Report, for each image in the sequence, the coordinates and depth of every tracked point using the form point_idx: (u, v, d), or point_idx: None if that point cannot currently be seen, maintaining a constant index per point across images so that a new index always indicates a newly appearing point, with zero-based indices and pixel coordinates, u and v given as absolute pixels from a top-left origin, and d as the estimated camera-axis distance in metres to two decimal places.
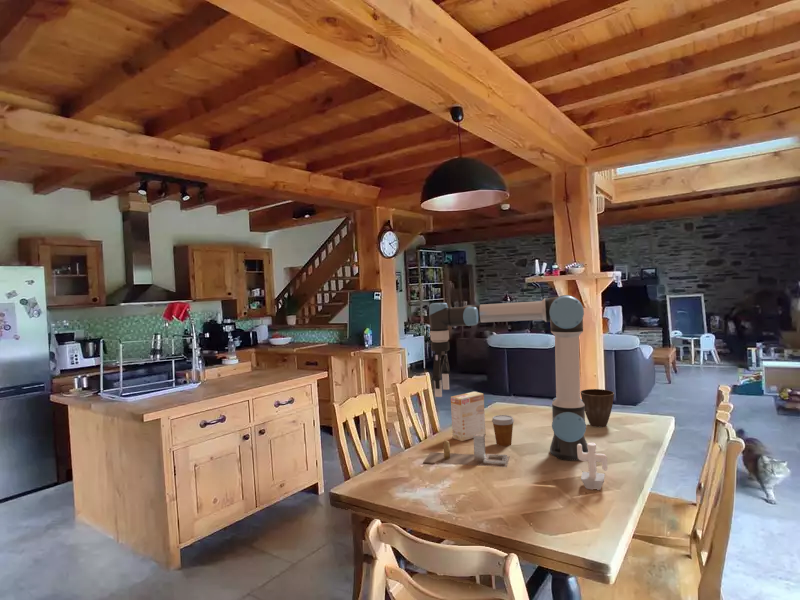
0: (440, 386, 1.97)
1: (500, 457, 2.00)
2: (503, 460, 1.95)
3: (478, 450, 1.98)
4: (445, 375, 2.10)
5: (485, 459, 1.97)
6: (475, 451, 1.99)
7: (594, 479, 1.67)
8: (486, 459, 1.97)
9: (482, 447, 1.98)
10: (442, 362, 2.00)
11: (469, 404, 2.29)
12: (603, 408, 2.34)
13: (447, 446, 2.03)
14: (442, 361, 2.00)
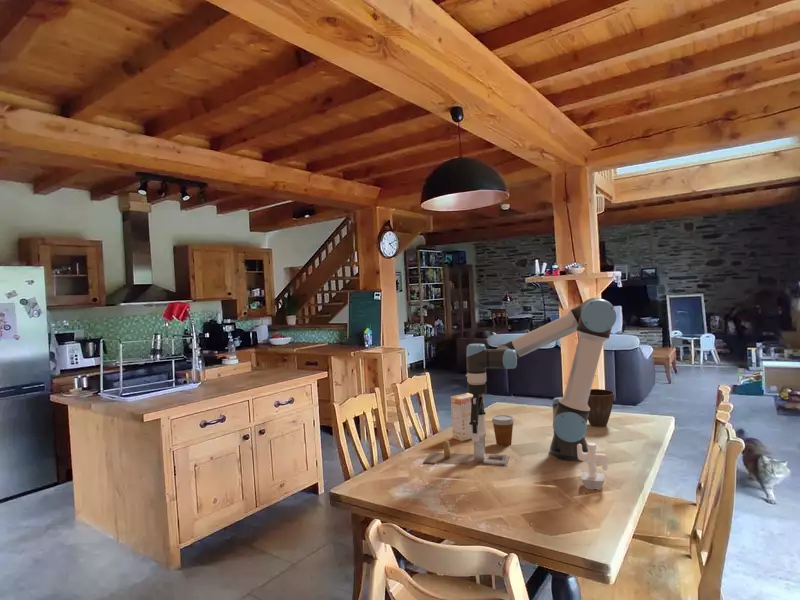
0: (477, 430, 1.92)
1: (500, 457, 2.00)
2: (503, 460, 1.95)
3: (478, 450, 1.98)
4: (480, 416, 2.06)
5: (485, 459, 1.97)
6: (475, 451, 1.99)
7: (594, 479, 1.67)
8: (486, 459, 1.97)
9: (482, 447, 1.98)
10: (479, 405, 1.95)
11: (469, 404, 2.29)
12: (603, 408, 2.34)
13: (447, 446, 2.03)
14: (479, 404, 1.96)
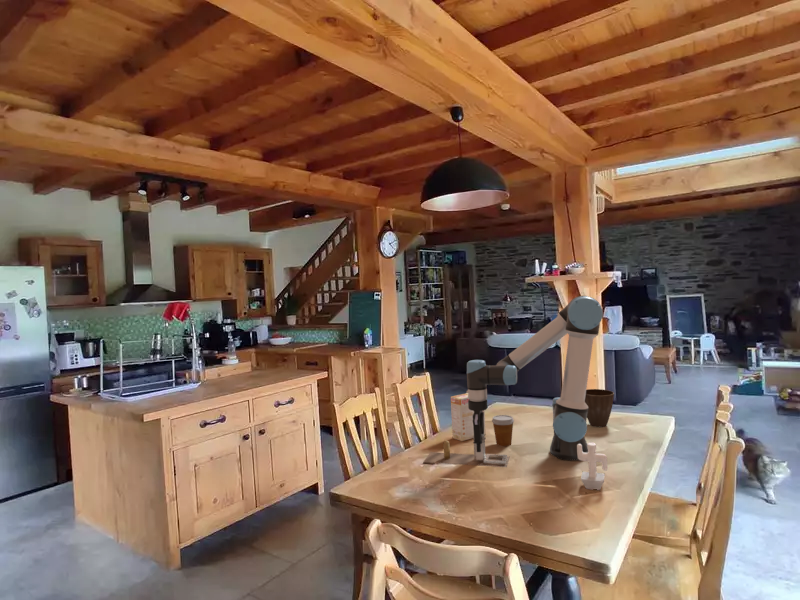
0: (481, 449, 1.97)
1: (500, 457, 2.00)
2: (503, 460, 1.95)
3: None
4: None
5: (485, 459, 1.97)
6: (475, 451, 1.99)
7: (594, 479, 1.67)
8: (486, 459, 1.97)
9: None
10: (481, 423, 1.97)
11: None
12: (603, 408, 2.34)
13: (447, 446, 2.03)
14: (481, 422, 1.97)
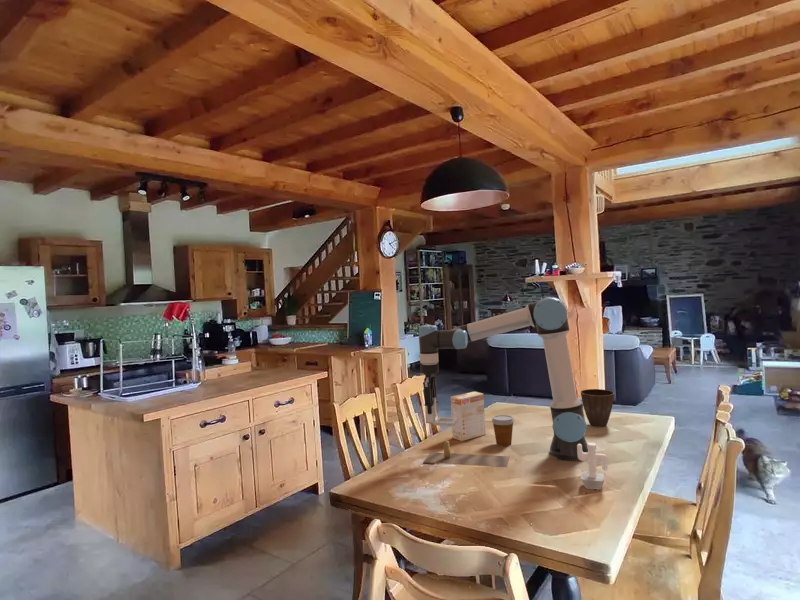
0: (432, 411, 2.03)
1: (451, 420, 2.05)
2: (453, 422, 2.00)
3: None
4: None
5: (436, 421, 2.02)
6: (426, 413, 2.04)
7: (594, 479, 1.67)
8: (436, 421, 2.02)
9: None
10: (432, 386, 2.02)
11: (469, 404, 2.29)
12: (603, 408, 2.34)
13: (447, 446, 2.03)
14: (432, 385, 2.02)
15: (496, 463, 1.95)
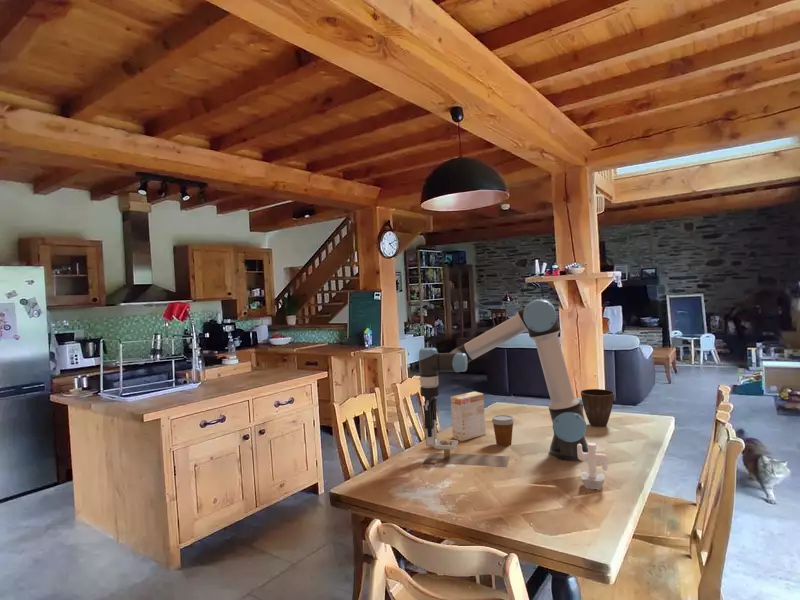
0: (432, 434, 2.03)
1: (451, 442, 2.06)
2: (453, 445, 2.00)
3: None
4: None
5: (436, 444, 2.02)
6: (426, 436, 2.04)
7: (594, 479, 1.67)
8: (437, 444, 2.02)
9: None
10: (432, 409, 2.03)
11: (469, 404, 2.29)
12: (603, 408, 2.34)
13: None
14: (432, 408, 2.03)
15: (496, 463, 1.95)
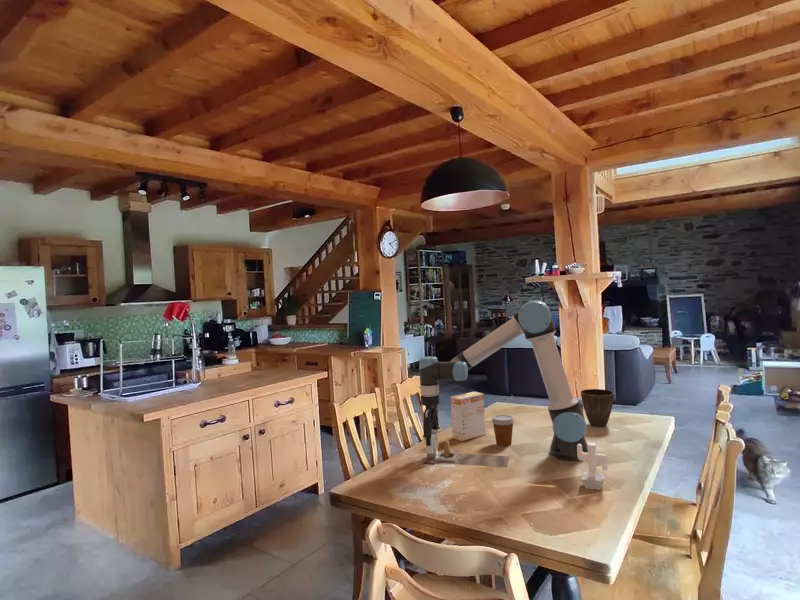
0: (431, 443, 2.00)
1: (452, 454, 2.06)
2: (454, 457, 2.01)
3: None
4: (434, 431, 2.10)
5: (437, 456, 2.03)
6: None
7: (594, 479, 1.67)
8: (438, 456, 2.03)
9: (434, 445, 2.04)
10: (432, 417, 2.02)
11: (469, 404, 2.29)
12: (603, 408, 2.34)
13: (447, 446, 2.03)
14: (432, 416, 2.02)
15: (496, 463, 1.95)
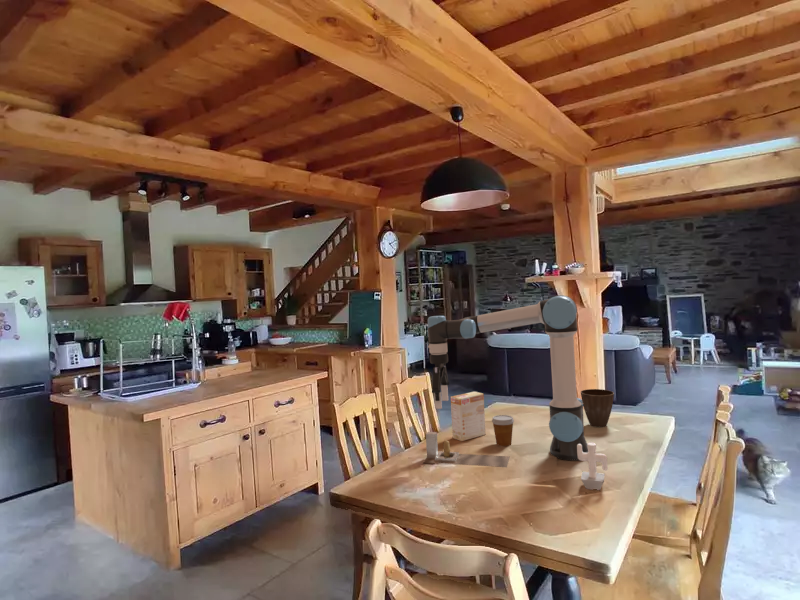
0: (440, 398, 2.00)
1: (452, 454, 2.06)
2: (454, 457, 2.01)
3: (430, 448, 2.04)
4: (444, 387, 2.13)
5: (437, 456, 2.03)
6: (427, 448, 2.05)
7: (594, 479, 1.67)
8: (438, 456, 2.03)
9: (434, 445, 2.04)
10: (441, 374, 2.03)
11: (469, 404, 2.29)
12: (603, 408, 2.34)
13: (447, 446, 2.03)
14: (441, 373, 2.03)
15: (496, 463, 1.95)
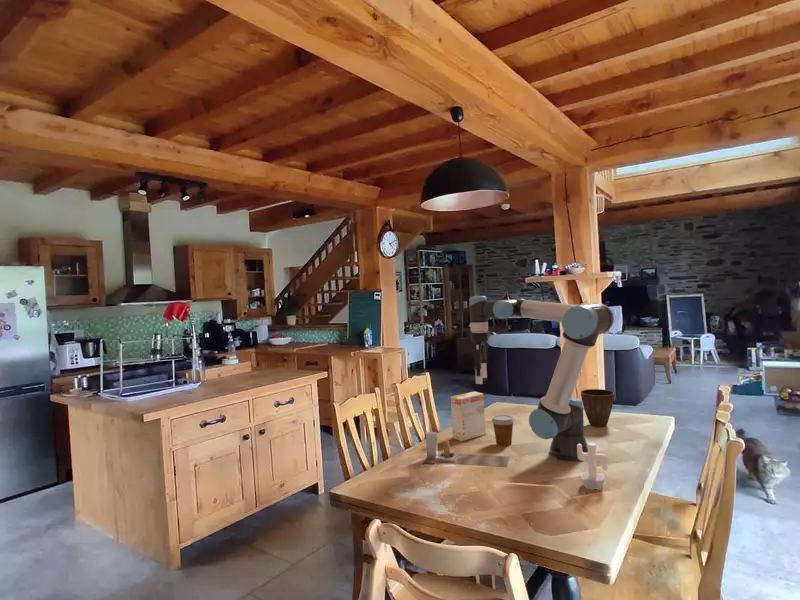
0: (481, 374, 2.10)
1: (452, 454, 2.06)
2: (454, 457, 2.01)
3: (430, 448, 2.04)
4: (483, 364, 2.23)
5: (437, 456, 2.03)
6: (427, 448, 2.05)
7: (594, 479, 1.67)
8: (438, 456, 2.03)
9: (434, 445, 2.04)
10: (482, 351, 2.13)
11: (469, 404, 2.29)
12: (603, 408, 2.34)
13: (447, 446, 2.03)
14: (482, 350, 2.13)
15: (496, 463, 1.95)
